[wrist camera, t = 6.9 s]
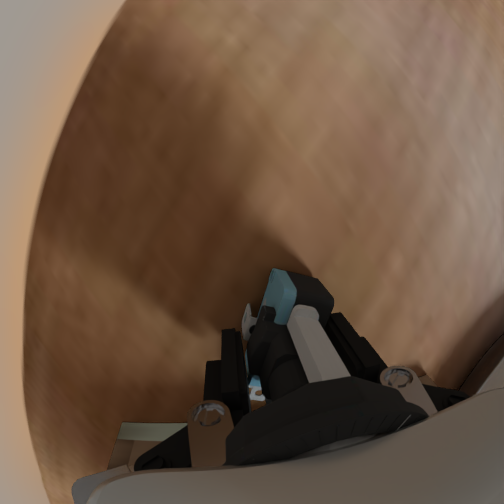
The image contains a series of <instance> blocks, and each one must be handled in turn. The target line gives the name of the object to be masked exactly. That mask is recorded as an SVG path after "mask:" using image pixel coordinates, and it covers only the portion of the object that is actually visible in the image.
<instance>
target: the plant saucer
mask: <svg viewBox="0 0 504 504" xmlns="http://www.w3.org/2000/svg"><path fill="white" fill-rule="evenodd" d="M502 387H504V334H503V335H502V336H501V337H500V338H499V339H498V340H497V341H496V342H495V343H494V344H493V346H492V347H491V348H490V349H489V350H488V352H487V353H486V354H485V355H484V356H483V358H482V359H481V360H480V361H479V363H478V364H477V365H476V367H475V368H474V369H473V371H472V372H471V374H470V375H469V376H468V378H467V379H466V381H465V382H464V384H463V385H462V387H461V388H460V390H459V391H461V392H464V393H466V394H467V395H469V396H470V397H472V395H477V394H480V393H482V392H485V391H489V390H492V389H496V388H502Z"/></svg>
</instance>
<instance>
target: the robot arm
mask: <svg viewBox="0 0 504 504" xmlns="http://www.w3.org/2000/svg"><path fill="white" fill-rule="evenodd" d="M324 331H325V333H326V335H327V336H328V338H329V340H330V341H331V343H332V345H333V346H334V348H335V350H336V351H337V353H338V355H339V357H340V358H341V360H342V362H343V363H344V365H345V367H346V369H347V370H348V372H349V374H350V375H351V376H353V377H358V378H361V379H364V380H367V381H371V382H374V383H378V384H381V385H385V386H388V387H392V388H396V389H397V390H399V392H400V393H401V394H402V396H403V397H404V399H405V400H406V401H407V402H410V403H413V404H416V405H418V406H420V407H421V408H423V409H424V410H425V411H426V413H427V414H428V415H429V417H428V418H426V419H423V420H421V421H418V422H416V423H414V424H411V425H409V426H406V427H403V428H401V429H398V430H395V431H393V432H386V433H384V434H381V435H378V436H374V437H371V438H369V439H366V440H363V441H360V442H357V443H353V444H350V445H347V446H343V447H340V448H336V449H332V450H327V451H322V452H316V453H311V454H306V455H301V456H296V457H292V458H290V459H286V460H281V461H273V462H267V463H259V464H250V465H241V466H232V465H227V466H222V465H223V464H224V463H225V461H226V448H225V440H226V438H227V436H228V435H229V434H230V432H231V431H232V430H233V429H234V428H235V426H236V425H237V424H238V423H239V421H240V420H241V419H242V418H243V416H245V415H246V414H248V413H250V412H251V404H250V395H249V387H248V381H247V373H246V366H245V360H244V353H243V346H242V340H241V333H240V331H236V332H235V328H233V329H224V330H222V347H221V360H215V361H207V363H206V373H205V386H204V399H203V401H202V402H199V403H197V404H195V405H194V406H192V407H191V408H190V410H189V411H188V413H187V424H188V425H186V426H185V427H183V428H182V429H180V430H179V431H177V432H176V433H174V434H173V435H171V436H170V437H168V438H167V439H165V440H164V441H162V442H161V443H159V444H158V445H156V446H155V447H153V448H151V449H150V450H148V451H147V452H145V453H143V454H142V455H141V456H139V457H138V458H137V460H136V461H135V464H134V465H132V466H129V467H128V466H127V465H123V466H120V467H117V468H113V469H110V470H107V471H104V472H100V473H97V474H93V475H90V476H86V477H82V478H80V479H78V480H77V481H76V482H75V483H74V484H73V486H72V496H73V500H74V503H75V504H504V387H502V388H496V389H492V390H489V391H485V392H482V393H480V394H477V395H472V397H470V396H469V395H467V394H466V393H464V392H461V391H457V390H451V389H446V388H441V387H436V386H431V385H426V384H422V383H421V382H420V380H419V378H418V377H417V375H416V373H415V372H414V371H413V370H411V369H410V368H408V367H405V366H391V367H387V365H386V364H385V363H384V361H383V360H382V359H381V358H380V356H379V355H378V354H377V352H376V351H375V350H374V349H373V347H372V346H371V345H370V343H369V342H368V341H367V340H366V338H364V337H360V336H359V335H358V334H357V332H356V331H355V330H354V328H353V327H352V326H351V325H350V323H349V322H348V321H347V319H346V318H345V317H344V316H343V314H342V313H341V312H339V313H333V314H330V317H329V319H328V322H327V324H326V326H325V329H324Z"/></svg>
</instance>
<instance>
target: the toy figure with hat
mask: <svg viewBox="0 0 504 504" xmlns="http://www.w3.org/2000/svg"><path fill="white" fill-rule="evenodd" d="M333 307H334V298H333V297H332V295H331V294H330V293H329V292H328V290H327V289H326V288H325V287H324V286H323V284H322V283H321V282H320V281H319V280H318V279H317V278H313V277H309V276H305V275H301V274H297V273H293V272H289V271H284V270H280V269H275V268H273V269H272V271H271V273H270V277H269V282H268V285H267V288H266V291H265V294H264V297H263V301H262V304H261V307H260V310H259V313H258V316H257V318H254V317H252V316H251V308H250V304H249V303H248V304H247V306H246V309H245V312H244V316H243V319H242V333H243V339H244V340H247V341H248V343H247V349H246V354H245V359H246V368H247V376H248V377H247V381H248V387H249V388H252V390H251V392H250V399H251V400H258V401H263V400H265V399H266V405H265V406H263V407H261V408H259V409H257V410H254V411H252V412H250V413H248V414H246V415H245V416H243V418H242V419H241V420H240V421H239V423H238V424H237V425H236V426H235V428H234V429H233V430H232V431H231V432H230V434H229V435H228V436H227V438H226V440H225V448H226V461H225V463H224V464H223V465H222V466H227V465H232V466H241V465H250V464H259V463H267V462H273V461H281V460H286V459H290V458H292V457H296V456H301V455H306V454H311V453H316V452H322V451H327V450H332V449H336V448H340V447H343V446H347V445H350V444H353V443H357V442H360V441H363V440H366V439H369V438H371V437H374V436H378V435H381V434H384V433H386V432H393V431H395V430H398V429H401V428H403V427H406V426H409V425H411V424H414V423H416V422H418V421H421V420H423V419H426V418H428V417H429V415H428V414H427V413H426V411H425V410H424V409H423V408H421V407H420V406H418V405H416V404H413V403H410V402H407V401H406V400H405V399H404V397H403V396H402V394H401V393H400V392H399V390H397V389H396V388H392V387H388V386H385V385H381V384H378V383H374V382H371V381H367V380H364V379H361V378H358V377H353V376H351V375H350V374H349V372H348V370H347V369H346V367H345V365H344V363H343V362H342V360H341V358H340V357H339V355H338V353H337V351H336V350H335V348H334V346H333V345H332V343H331V341H330V340H329V338H328V336H327V335H326V333H325V331H324V329H325V326H326V324H327V322H328V319H329V317H330V314H331V312H332V309H333ZM246 316H247V317H246ZM257 390H262V394H261V395H256V394H255V392H256V391H257Z"/></svg>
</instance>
